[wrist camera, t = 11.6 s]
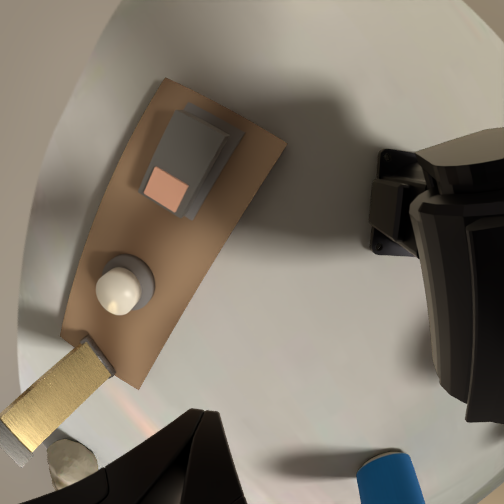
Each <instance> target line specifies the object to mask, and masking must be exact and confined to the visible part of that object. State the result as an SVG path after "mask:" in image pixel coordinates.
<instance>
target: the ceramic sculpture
mask: <svg viewBox="0 0 504 504" xmlns="http://www.w3.org/2000/svg"><path fill="white" fill-rule="evenodd" d="M47 453H48V454H47V460H48V464H49V470H50V474H51V478H52V484H53V487H54V488H55V490H56V491H57V490H59V489H62V488H64V487H66V486H69V485H71V484H73V483H75V482H78V481H80V480H81V479H83V478H85V477H87V476H89V475H91V474H93V473H94V472H96V471H98V464H97V460H96V457H95V455H94V454H93V453H92V452H90V451H89V450H88V449H87V448H86V447H85V446H83V445H82V444H80V443H77V442H74V441H71V440H68V439H62V440H58V441H56V442H54V443H53V444H52V445H51V446H49V447H48V449H47Z"/></svg>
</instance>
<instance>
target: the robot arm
mask: <svg viewBox="0 0 504 504" xmlns="http://www.w3.org/2000/svg"><path fill="white" fill-rule="evenodd" d="M386 153H387V154H388V155H389V160H388V161H385V159H384V155H385V154H386ZM369 223H370V224H371V225H372V232H371V240H370V249H371V251H372V252H373V253H375V254H377V255H391V256H410V257H417V258H418V259H420V263H421V269H422V274H423V280H424V286H425V293H426V300H427V307H428V315H429V324H430V334H431V346H432V360H433V363H434V366H435V369H436V372H437V375H438V377H439V378H440V385H441V386H442V387H443V388H444V389H445V390H446V391H447V392H448V393H449V394H450V395H451V396H453V397H455V398H457V399H458V400H460V401H462V402H464V403H466V404H467V409H466V416H465V420H466V421H467V422H470V423H471V422H495V423H500V424H504V127H502V128H493V129H486V130H482V131H479V132H476V133H472V134H469V135H466V136H463V137H460V138H456V139H453V140H450V141H447V142H444V143H441V144H438V145H435V146H432V147H429V148H425V149H422V150H419V151H417V152H415V153H409V152H403V151H397V150H391V149H383V150H381V151H380V152H379V154H378V164H377V179H375V180H374V181H373V182H372V193H371V204H370V214H369ZM378 243H381V246H380V248H379V249H375V246H376V244H378ZM20 504H247V501H246V498H245V497H244V493H243V490H242V487H241V484H240V481H239V478H238V475H237V472H236V468H235V465H234V462H233V459H232V455H231V452H230V449H229V445H228V442H227V438H226V435H225V431H224V428H223V424H222V421H221V417H220V413H219V412H217V411H209V410H206V411H204V410H201V409H193V408H191V409H189V410H188V411H186V412H185V413H184V414H182V415H181V416H179V417H178V418H177V419H175V420H174V421H173V422H171V423H170V424H168V425H167V426H166V427H164V428H163V429H161V430H160V431H158V432H157V433H156V434H154V435H153V436H151V437H150V438H148V439H147V440H145V441H144V442H142V443H141V444H139V445H138V446H136V447H135V448H133V449H132V450H130V451H129V452H127V453H126V454H124V455H123V456H121V457H119V458H118V459H116V460H115V461H113V462H111V463H110V464H108V465H107V466H105V468H104V467H103V468H101V469H99V470H98V471H96V472H94V473H93V474H91V475H89V476H87V477H85V478H83V479H81V480H80V481H78V482H75V483H73V484H71V485H69V486H66V487H64V488H62V489H59V490H57V491H54V492H52V493H49V494H46V495H43V496H41V497H38V498H35V499H32V500H29V501H26V502H23V503H20Z"/></svg>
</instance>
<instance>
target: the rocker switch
mask: <svg viewBox="0 0 504 504" xmlns="http://www.w3.org/2000/svg"><path fill="white" fill-rule="evenodd" d="M229 136H230V135H229V134H227V133H225V132H224V131H222V130H220V129H218V128H217V127H215V126H213V125H211V124H209V123H207V122H206V121H204V120H202V119H200V118H198V117H196V116H194V115H193V114H191V113H189V112H187V111H185V110H175V112H174V114H173V116H172V118H171V120H170V122H169V124H168V126H167V128H166V130H165V132H164V134H163V136H162V138H161V140H160V142H159V144H158V146H157V149H156V151H155V153H154V155H153V157H152V160H151V162H150V164H149V166H148V169H147V171H146V173H145V176H144V178H143V180H142V183H141V185H140V188H139V190H138V193H140V194H142V195H143V196H145V197H146V198H148V199H150V200H151V201H153V202H155V203H156V204H158V205H159V206H161V207H163V208H164V209H166V210H167V211H169V212H171V213H172V214H174V215H176V216H177V217H179V218H180V219H181V218H182V217H183V216H184V215H186V214H187V213H188V211H189V209H190V207H191V205H192V203H193V201H194V199H195V198H196V196H197V194H198V192H199V190H200V188H201V186H202V184H203V183H204V181H205V179H206V177H207V175H208V173H209V172H210V170H211V168H212V166H213V164H214V163H215V161H216V159H217V157H218V155H219V154H220V152H221V150H222V148H223V147H224V145H225V143H226V142H227V140H228V138H229Z"/></svg>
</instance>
